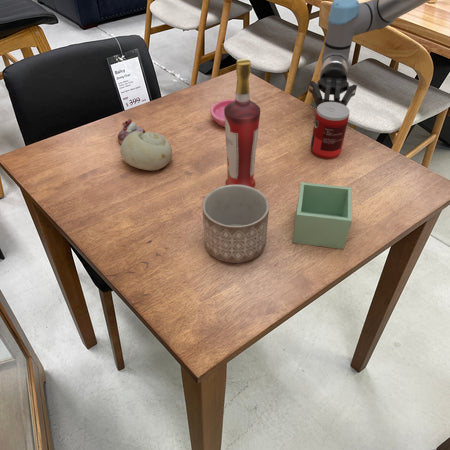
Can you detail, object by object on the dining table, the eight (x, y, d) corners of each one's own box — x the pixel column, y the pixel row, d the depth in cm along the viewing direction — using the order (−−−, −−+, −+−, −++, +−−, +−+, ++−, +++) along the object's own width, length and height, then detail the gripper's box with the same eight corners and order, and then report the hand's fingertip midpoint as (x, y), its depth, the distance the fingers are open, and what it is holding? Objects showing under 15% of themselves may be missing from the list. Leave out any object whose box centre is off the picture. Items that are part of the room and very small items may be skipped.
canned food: (321, 139, 116) (329, 98, 107) (346, 150, 112) (356, 109, 104) (303, 150, 112) (309, 109, 104) (329, 163, 109) (337, 121, 100)
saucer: (243, 105, 127) (243, 95, 125) (262, 126, 120) (263, 115, 117) (203, 114, 124) (203, 103, 121) (221, 136, 117) (221, 125, 114)
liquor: (221, 180, 104) (219, 56, 83) (250, 175, 106) (256, 52, 84) (229, 199, 100) (229, 73, 78) (259, 194, 101) (268, 68, 79)
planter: (203, 225, 94) (201, 185, 86) (261, 222, 95) (264, 182, 87) (206, 268, 86) (203, 228, 78) (269, 264, 87) (273, 225, 79)
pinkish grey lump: (127, 129, 119) (124, 112, 115) (152, 135, 117) (149, 117, 114) (112, 144, 114) (108, 127, 111) (137, 150, 113) (134, 132, 109)
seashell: (169, 123, 107) (165, 141, 100) (175, 154, 112) (172, 173, 105) (118, 129, 108) (111, 146, 100) (126, 159, 113) (120, 178, 106)
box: (343, 249, 90) (351, 220, 84) (292, 242, 91) (296, 214, 85) (344, 216, 96) (352, 187, 90) (296, 210, 97) (300, 181, 92)
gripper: (354, 91, 126) (353, 134, 112) (308, 87, 128) (301, 129, 113) (360, 63, 120) (360, 105, 106) (312, 60, 122) (306, 100, 107)
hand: (330, 117), depth 110 cm, fingers closed
